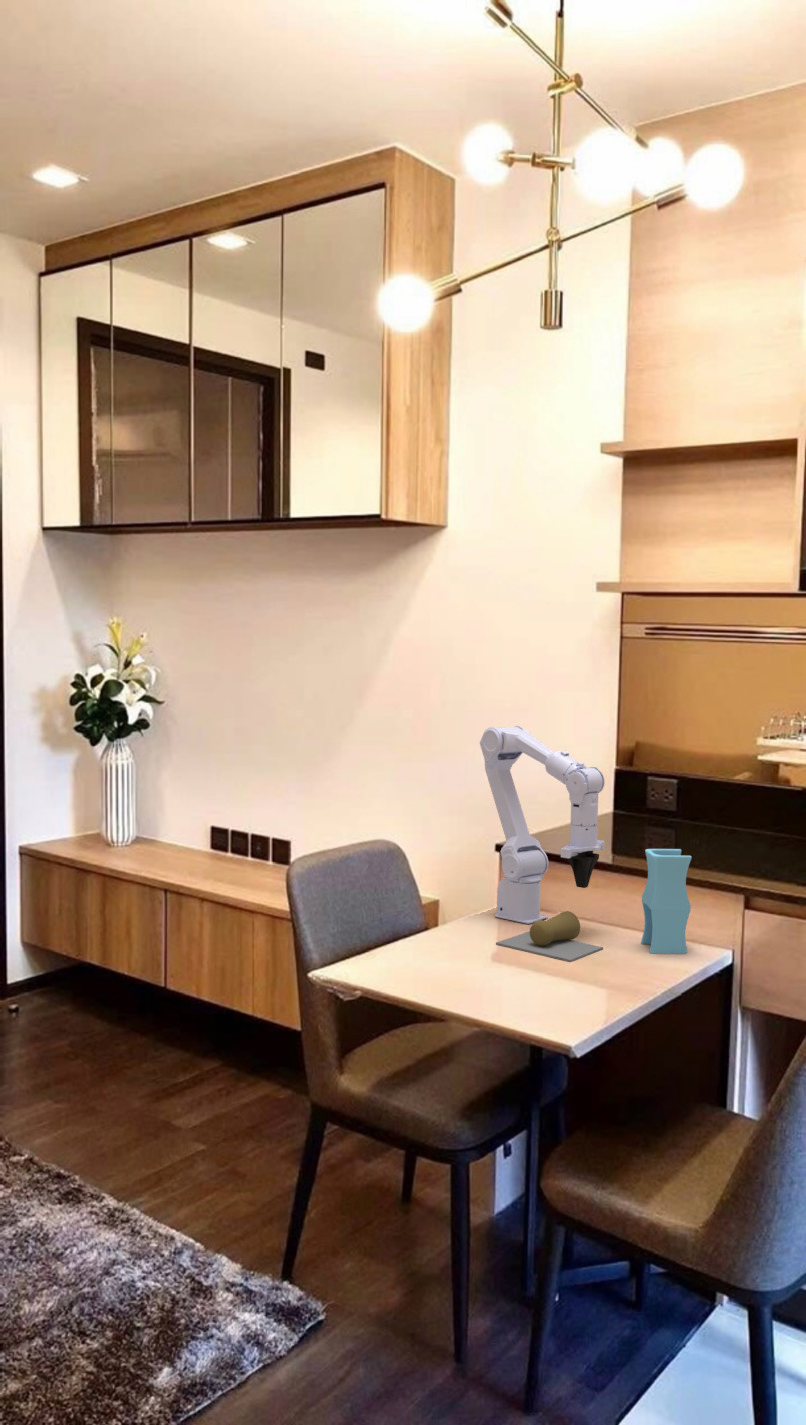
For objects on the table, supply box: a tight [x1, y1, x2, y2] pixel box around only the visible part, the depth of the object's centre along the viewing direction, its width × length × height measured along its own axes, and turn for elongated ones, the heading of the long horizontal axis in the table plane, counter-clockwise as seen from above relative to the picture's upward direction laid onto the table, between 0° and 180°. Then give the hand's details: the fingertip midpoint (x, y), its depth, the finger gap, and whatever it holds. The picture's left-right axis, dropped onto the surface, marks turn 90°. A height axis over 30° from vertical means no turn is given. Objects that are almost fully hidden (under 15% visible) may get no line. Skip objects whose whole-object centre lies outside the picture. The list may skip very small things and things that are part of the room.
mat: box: [495, 930, 604, 963], centre depth 224 cm, size 18×12×1 cm
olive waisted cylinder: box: [529, 910, 581, 946], centre depth 226 cm, size 6×6×11 cm
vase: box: [640, 848, 692, 955], centre depth 224 cm, size 8×8×20 cm
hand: (582, 887), depth 234 cm, fingers closed
